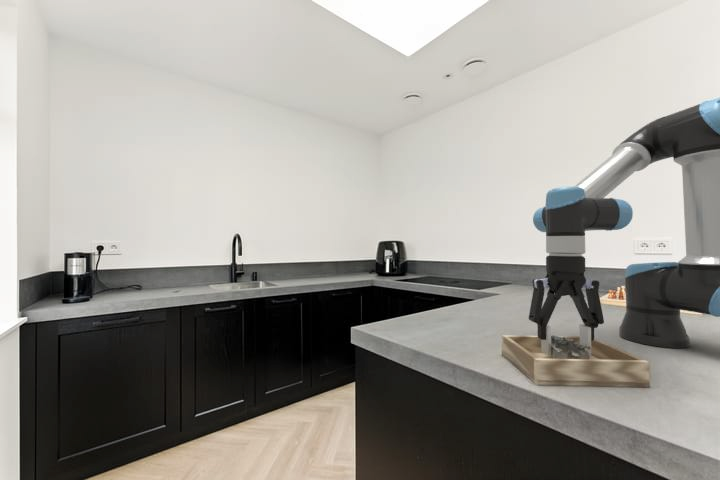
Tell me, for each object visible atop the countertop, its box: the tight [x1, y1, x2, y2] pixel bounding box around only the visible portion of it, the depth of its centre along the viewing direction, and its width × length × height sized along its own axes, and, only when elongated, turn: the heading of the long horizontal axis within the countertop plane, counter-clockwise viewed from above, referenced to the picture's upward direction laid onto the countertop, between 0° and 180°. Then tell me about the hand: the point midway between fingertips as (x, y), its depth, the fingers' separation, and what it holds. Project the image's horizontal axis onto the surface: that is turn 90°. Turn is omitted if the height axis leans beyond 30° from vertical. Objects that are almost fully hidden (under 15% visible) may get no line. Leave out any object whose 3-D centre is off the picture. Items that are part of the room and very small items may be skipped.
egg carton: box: [549, 334, 591, 359], centre depth 70 cm, size 11×8×4 cm
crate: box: [501, 334, 651, 388], centre depth 70 cm, size 22×17×5 cm
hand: (565, 353), depth 70 cm, fingers closed on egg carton, 8 cm apart
